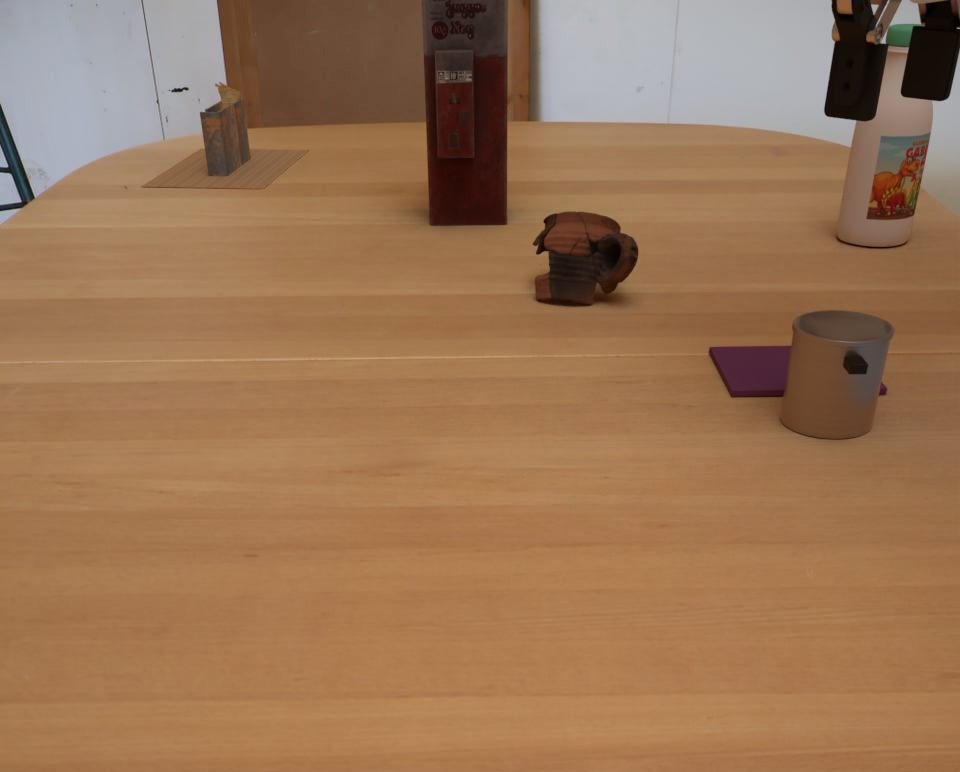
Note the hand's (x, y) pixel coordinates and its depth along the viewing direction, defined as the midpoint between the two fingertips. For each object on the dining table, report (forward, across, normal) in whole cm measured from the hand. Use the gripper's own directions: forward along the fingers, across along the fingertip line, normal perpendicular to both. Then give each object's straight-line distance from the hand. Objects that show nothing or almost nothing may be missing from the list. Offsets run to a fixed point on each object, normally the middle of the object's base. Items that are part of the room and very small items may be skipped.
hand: (887, 108), depth 71 cm
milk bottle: (+20, +48, +22) cm, 56 cm away
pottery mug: (+21, +12, +33) cm, 41 cm away
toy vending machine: (+21, +25, +62) cm, 70 cm away
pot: (+20, -1, 0) cm, 20 cm away
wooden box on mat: (+21, +23, +106) cm, 111 cm away
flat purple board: (+20, +6, +7) cm, 22 cm away
